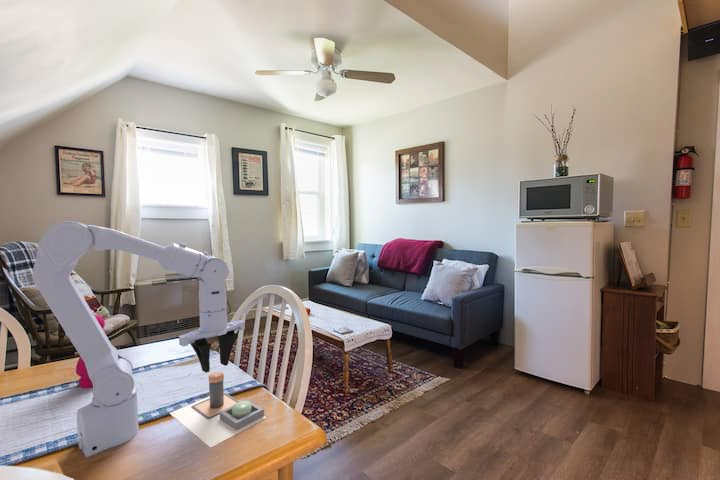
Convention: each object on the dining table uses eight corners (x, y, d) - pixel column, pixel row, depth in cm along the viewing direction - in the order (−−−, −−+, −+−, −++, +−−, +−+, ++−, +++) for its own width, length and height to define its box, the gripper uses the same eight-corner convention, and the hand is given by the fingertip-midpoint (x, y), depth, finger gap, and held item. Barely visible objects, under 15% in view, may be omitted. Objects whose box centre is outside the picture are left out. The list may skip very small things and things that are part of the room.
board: (208, 456, 62) (208, 443, 62) (164, 417, 75) (163, 406, 75) (271, 421, 73) (271, 410, 73) (223, 392, 86) (223, 383, 86)
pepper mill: (70, 386, 90) (66, 312, 89) (100, 374, 97) (96, 305, 95) (87, 391, 87) (83, 314, 86) (116, 379, 94) (112, 308, 93)
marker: (206, 405, 78) (205, 375, 77) (219, 399, 80) (219, 371, 80) (213, 410, 76) (212, 380, 75) (226, 404, 78) (226, 375, 78)
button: (238, 420, 70) (238, 413, 70) (228, 414, 73) (228, 406, 73) (255, 412, 74) (255, 405, 73) (245, 406, 76) (244, 399, 76)
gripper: (188, 319, 69) (191, 384, 69) (251, 305, 80) (252, 361, 81) (173, 314, 73) (176, 375, 74) (235, 301, 84) (236, 354, 85)
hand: (215, 367), depth 78 cm, fingers open, 4 cm apart
